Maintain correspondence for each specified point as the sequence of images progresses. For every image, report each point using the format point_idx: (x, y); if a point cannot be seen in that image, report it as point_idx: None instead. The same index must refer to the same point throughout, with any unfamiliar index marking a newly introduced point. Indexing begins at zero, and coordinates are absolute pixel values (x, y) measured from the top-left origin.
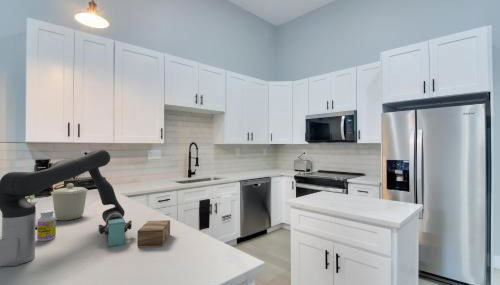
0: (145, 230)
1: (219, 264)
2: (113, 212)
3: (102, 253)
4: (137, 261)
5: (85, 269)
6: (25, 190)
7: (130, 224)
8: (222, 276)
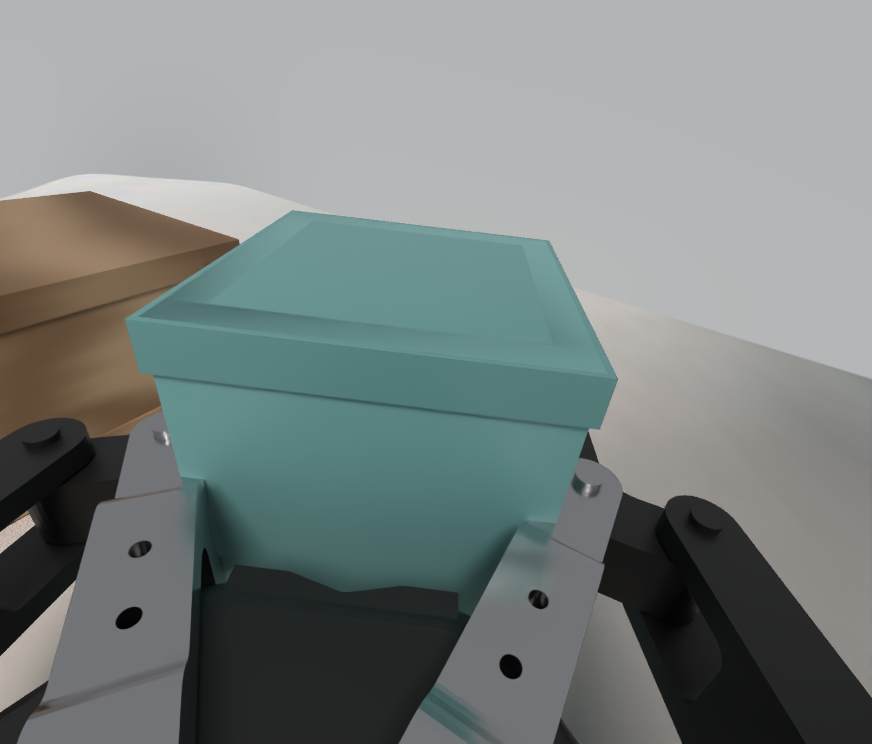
0: (184, 222)
1: (162, 197)
2: None
3: None
4: None
5: None
6: None
7: (54, 431)
8: (221, 186)
